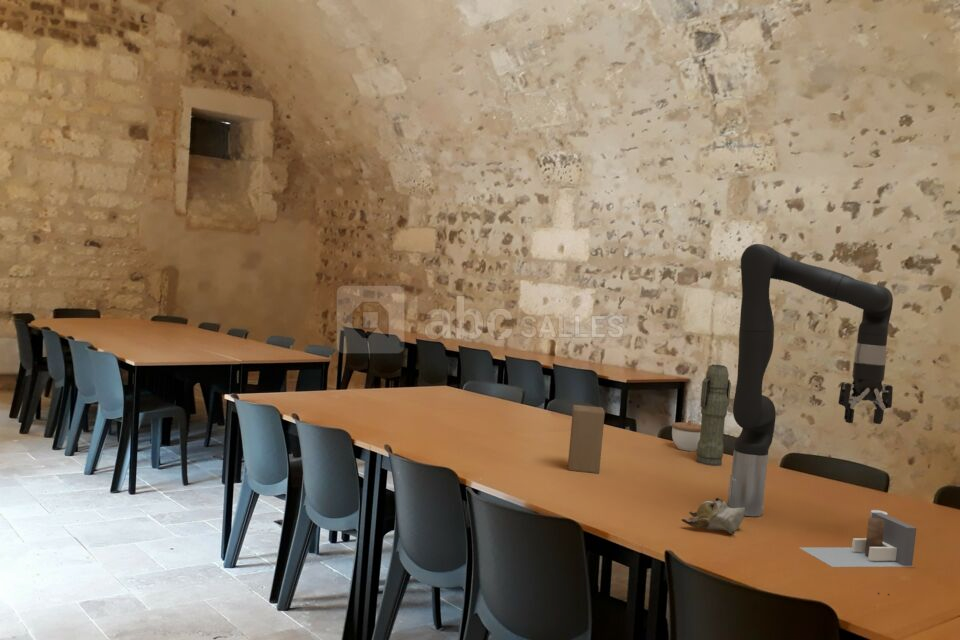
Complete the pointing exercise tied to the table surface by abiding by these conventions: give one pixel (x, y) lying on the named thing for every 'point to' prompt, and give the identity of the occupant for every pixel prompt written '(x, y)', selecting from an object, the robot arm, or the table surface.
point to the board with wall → (893, 535)
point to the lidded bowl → (686, 435)
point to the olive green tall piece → (713, 415)
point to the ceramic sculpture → (716, 516)
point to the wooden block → (586, 439)
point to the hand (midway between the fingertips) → (863, 423)
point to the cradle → (875, 550)
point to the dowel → (874, 534)
